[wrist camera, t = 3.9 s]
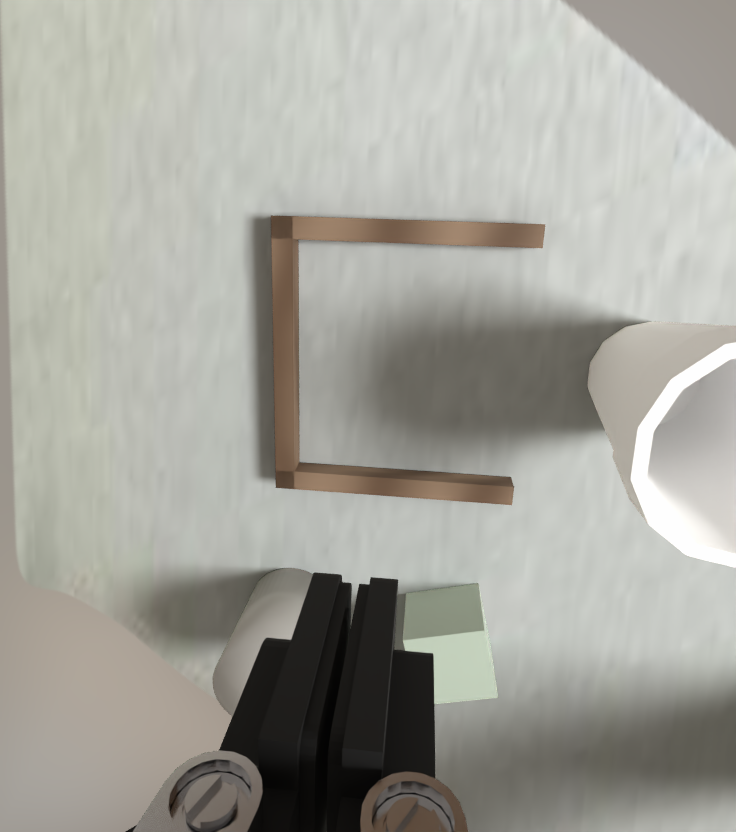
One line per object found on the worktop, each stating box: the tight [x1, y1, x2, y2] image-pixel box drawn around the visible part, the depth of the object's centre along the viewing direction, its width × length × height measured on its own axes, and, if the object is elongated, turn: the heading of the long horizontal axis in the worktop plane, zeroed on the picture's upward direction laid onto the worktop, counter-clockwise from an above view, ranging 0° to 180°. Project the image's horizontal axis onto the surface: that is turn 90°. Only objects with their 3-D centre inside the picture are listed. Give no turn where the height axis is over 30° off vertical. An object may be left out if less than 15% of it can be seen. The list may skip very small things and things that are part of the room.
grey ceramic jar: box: [213, 568, 313, 717], centre depth 38 cm, size 6×6×8 cm
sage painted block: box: [403, 583, 498, 704], centre depth 38 cm, size 5×5×5 cm
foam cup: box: [587, 321, 736, 568], centre depth 28 cm, size 10×9×13 cm
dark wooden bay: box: [271, 216, 545, 505], centre depth 35 cm, size 15×16×2 cm
